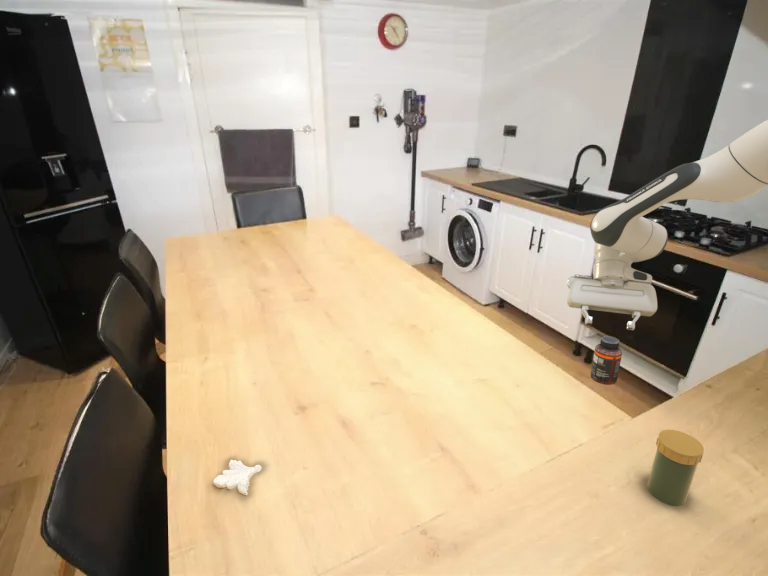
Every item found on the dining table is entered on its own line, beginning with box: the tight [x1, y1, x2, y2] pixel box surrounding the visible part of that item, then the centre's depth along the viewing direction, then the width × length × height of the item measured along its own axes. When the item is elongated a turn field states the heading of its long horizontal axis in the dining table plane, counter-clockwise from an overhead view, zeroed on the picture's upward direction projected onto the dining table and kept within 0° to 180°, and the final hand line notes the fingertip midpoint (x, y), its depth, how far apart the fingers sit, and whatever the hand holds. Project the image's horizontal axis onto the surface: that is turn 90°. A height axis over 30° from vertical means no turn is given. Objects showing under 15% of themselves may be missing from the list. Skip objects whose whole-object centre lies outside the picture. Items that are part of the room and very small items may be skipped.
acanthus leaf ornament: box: [212, 459, 263, 496], centre depth 75 cm, size 8×7×2 cm
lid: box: [655, 429, 705, 465], centre depth 67 cm, size 6×6×2 cm
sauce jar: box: [646, 447, 699, 507], centre depth 68 cm, size 6×6×11 cm
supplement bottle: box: [590, 335, 623, 386], centre depth 101 cm, size 6×6×11 cm
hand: (609, 326), depth 103 cm, fingers open, 8 cm apart
